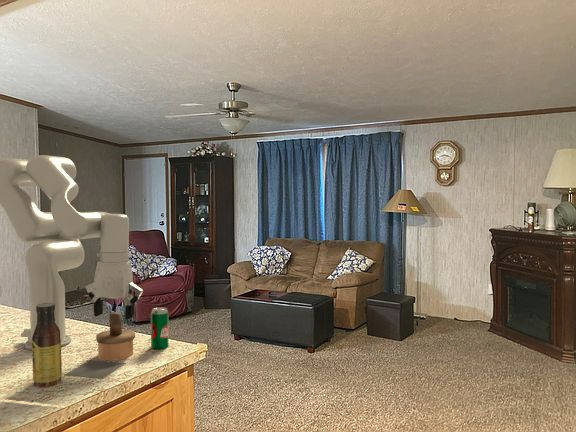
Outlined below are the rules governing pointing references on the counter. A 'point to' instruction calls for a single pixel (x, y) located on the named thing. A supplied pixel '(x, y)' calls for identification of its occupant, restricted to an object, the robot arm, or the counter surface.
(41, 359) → the sauce bottle
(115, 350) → the bowl
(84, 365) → the mat
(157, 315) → the soda can
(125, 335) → the lid
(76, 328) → the counter surface
